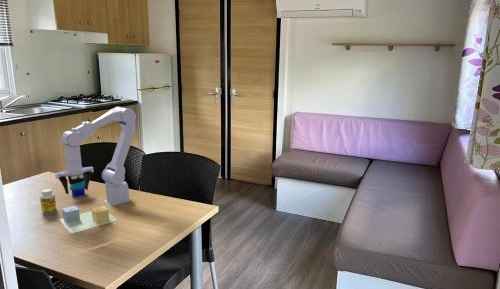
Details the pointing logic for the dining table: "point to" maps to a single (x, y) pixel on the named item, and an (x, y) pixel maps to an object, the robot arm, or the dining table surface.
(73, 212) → the blue brick
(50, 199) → the supplement bottle
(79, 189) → the toy
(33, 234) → the dining table surface
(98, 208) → the mustard brick
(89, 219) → the baseplate
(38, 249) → the dining table surface
